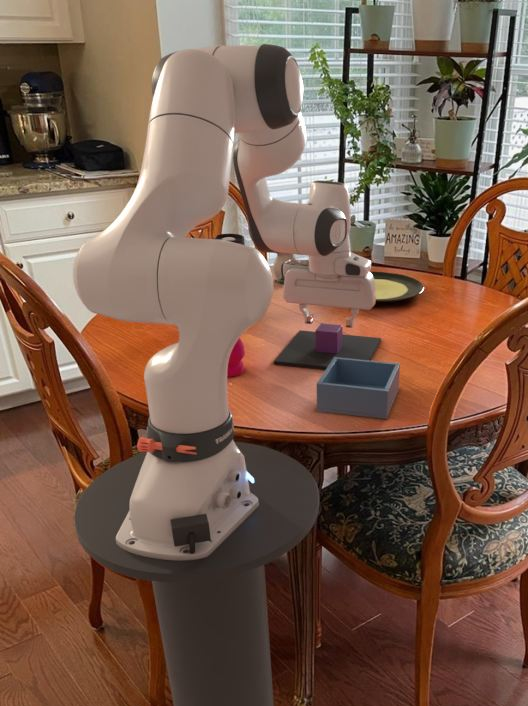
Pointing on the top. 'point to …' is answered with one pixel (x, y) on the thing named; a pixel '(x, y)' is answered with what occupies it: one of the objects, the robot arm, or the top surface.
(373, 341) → the plate
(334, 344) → the block
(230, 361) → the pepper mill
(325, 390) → the basket
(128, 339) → the top surface
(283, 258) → the decorative ornament
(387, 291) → the plate
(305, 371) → the top surface
